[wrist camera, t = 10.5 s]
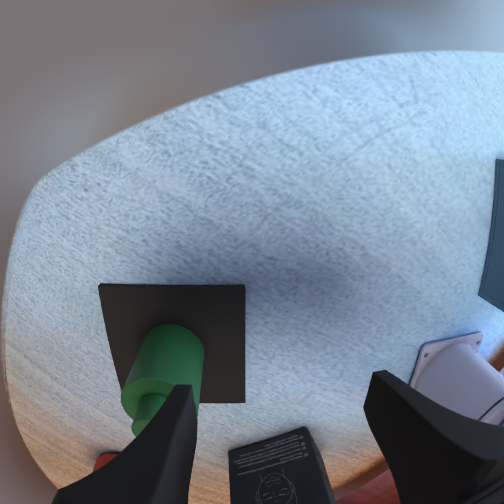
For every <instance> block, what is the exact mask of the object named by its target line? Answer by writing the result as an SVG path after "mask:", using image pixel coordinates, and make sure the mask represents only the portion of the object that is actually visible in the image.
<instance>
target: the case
mask: <svg viewBox="0 0 504 504" xmlns="http://www.w3.org/2000/svg"><path fill="white" fill-rule="evenodd" d="M478 296H480V297H482V298H483V299H484V300H486V301H488V302H489V303H491V304H492V305H494V306H495V307H497V308H498V309H500V310H502V311H503V312H504V160H500V159H496V178H495V194H494V206H493V216H492V225H491V232H490V239H489V246H488V252H487V257H486V263H485V268H484V273H483V277H482V282H481V286H480V291H479V295H478Z"/></svg>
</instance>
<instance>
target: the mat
mask: <svg viewBox="0 0 504 504" xmlns="http://www.w3.org/2000/svg"><path fill="white" fill-rule="evenodd" d="M98 289H99V295H100V301H101V307H102V312H103V317H104V322H105V327H106V332H107V336H108V341H109V345H110V349H111V353H112V357H113V361H114V365H115V369H116V373H117V377H118V380H119V384H120V387H121V391H122V390H123V387H124V385H125V383H126V380H127V378H128V376H129V373H130V371H131V369H132V366H133V364H134V362H135V359H136V357H137V355H138V353H139V350H140V348H141V346H142V344H143V341H144V339H145V337H146V335H147V334H148V333H149V332H150V331H151V330H152V329H153V328H155V327H157V326H160V325H164V324H175V325H179V326H183V327H185V328H187V329H189V330H190V331H192V332H193V333H194V334H195V335H196V336H197V337H198V338H199V339H200V341H201V342H202V345H203V347H204V362H203V371H202V380H201V389H200V398H199V403H245V285H129V284H100V285H99V286H98Z"/></svg>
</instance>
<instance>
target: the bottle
mask: <svg viewBox="0 0 504 504" xmlns="http://www.w3.org/2000/svg"><path fill="white" fill-rule="evenodd" d="M203 362H204V347H203V345H202V342H201V341H200V339H199V338H198V337H197V336H196V335H195V334H194V333H193V332H192V331H190V330H189V329H187V328H185V327H183V326H179V325H175V324H164V325H160V326H157V327H155V328H153V329H152V330H151V331H150V332H149V333H148V334H147V335H146V337H145V339H144V341H143V344H142V346H141V348H140V350H139V353H138V355H137V357H136V359H135V362H134V364H133V366H132V369H131V371H130V373H129V376H128V378H127V380H126V383H125V385H124V387H123V390H122V393H121V403H122V406H123V408H124V410H125V412H126V413H127V414H128V415H129V416H130V418H132V419H133V423H132V432H133V434H134V435H135V436H136V437H137V436H138V435H139V434H140V432H141V431H142V430H143V429H144V428H145V427H146V425H147V424H148V423H149V422H150V421H151V419H152V418H153V417H154V415H155V414H156V413H157V411H158V410H159V409H160V407H161V406H162V404H163V403H164V402H165V400H166V399H167V397H168V395H169V394H170V392H171V391H172V389H173V387H174V386H175V385H176V384H185V385H192V388H193V395H194V401H195V408H196V414H197V416H198V408H199V398H200V389H201V380H202V371H203Z"/></svg>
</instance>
